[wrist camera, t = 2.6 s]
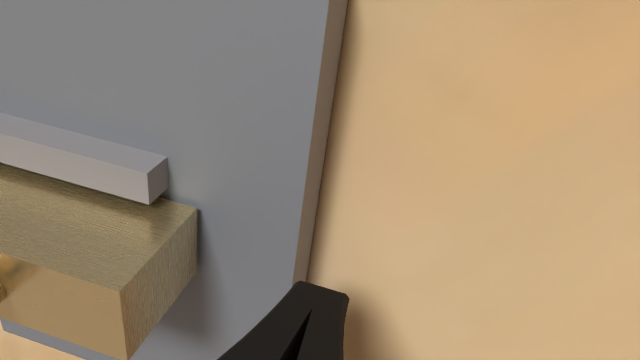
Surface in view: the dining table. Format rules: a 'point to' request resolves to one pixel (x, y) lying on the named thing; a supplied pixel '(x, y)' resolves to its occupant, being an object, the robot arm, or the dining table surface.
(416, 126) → the dining table surface
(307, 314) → the robot arm
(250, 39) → the door leaf
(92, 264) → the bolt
